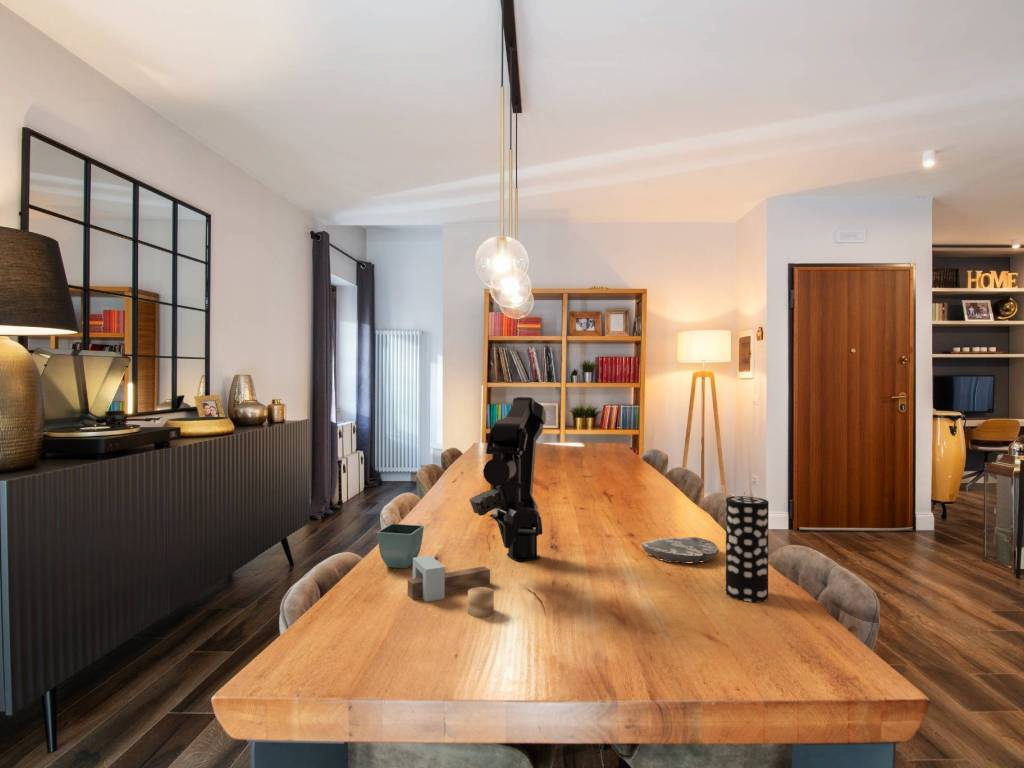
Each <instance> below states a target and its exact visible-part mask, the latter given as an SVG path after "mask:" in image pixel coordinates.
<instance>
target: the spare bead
mask: <svg viewBox="0 0 1024 768" xmlns="http://www.w3.org/2000/svg"><path fill="white" fill-rule="evenodd" d="M494 591H495V590H494V589H493V588H490V587H486V586H481V587H476V588H471V589H468V590H467V614H468V615H469V616H471V617H473V618H475V617H476V618H486V617H490V616H492V615H493V614H494V611H495V609H494V608H495V605H494V604H495V599H494V598H495V592H494Z"/></svg>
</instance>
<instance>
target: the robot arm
mask: <svg viewBox="0 0 1024 768" xmlns="http://www.w3.org/2000/svg"><path fill="white" fill-rule="evenodd" d="M512 400H513V401H512V405H511V407H510V409H509V410H508V412H507V414H506V416H505V417H504V418H501V419H497V420H496V421H495V422H494V423H493V425H492V427H490V429H489V435H488V440H487V446H486V451H485V454H486V455H492V458H491V459H490V460H488V461H487V462H486V463H485V465H484V466H483V467H484V468H483V469H482V473H483V477H484V479H485V481H486V482H487V483H488V485H489V484H490V489H488V490H485V491H483V492H481V493H479V494H476V495H474V496H473V497H470V499H469V502H470V504H471V507H472V512H473V513H474V514H477V515H478V516H479V517H480V516H485V515H487V514H488V512H491V511H492V513H491V514H490V515H489V517H490V518H492V519H493V520H494V521H495V522H496V523H497V525H498V526H497V527H498V529H499V532H500V536H501V539H502V543H503V547H504V548H505V549H507V550H508V551H507V553H506V555H507V557H509V558H511V559H513V560H514V561H516V562H524V561H532V560H538V559H541V556H540V555H539V554H538V537H539V536H540V535H543V522H542V521H543V520H542V517H541V515H540V512H539V510H538V508H539V507H538V504H537V502H536V500H535V498H534V496H533V491H534V488H533V487H534V475H535V461H536V447H537V440H538V439H539V438H540V436H541V435H542V434H543V432H544V431H543V430H544V425H546V422H547V421H546V420H547V416H546V410H545V408H544V406H543V405H542V404H540V403H538V402H537V401H535V399H534V397H531V396H516V397H514V398H513V399H512Z"/></svg>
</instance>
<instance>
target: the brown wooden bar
mask: <svg viewBox="0 0 1024 768" xmlns="http://www.w3.org/2000/svg"><path fill="white" fill-rule="evenodd" d="M490 585H491V569H490V568H488V567H486V566H479V567H473V568H467V569H466V568H465V569H461V570H460V569H459V570H454V571H451V572H450V571H449V572H448V571H447V572H445V587H444V595H446V594H449V593H455V592H460V591H465V590H470V589H472V588H476V587H486V586H490ZM407 597H409V598H410V599H411V600H413V601H415V600H418V599H423V577H420V578H414V579H413V578H410V579H407Z"/></svg>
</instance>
